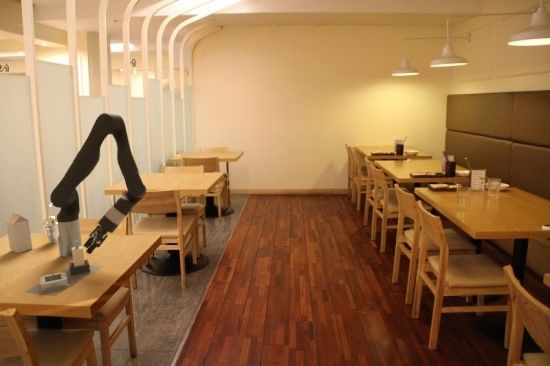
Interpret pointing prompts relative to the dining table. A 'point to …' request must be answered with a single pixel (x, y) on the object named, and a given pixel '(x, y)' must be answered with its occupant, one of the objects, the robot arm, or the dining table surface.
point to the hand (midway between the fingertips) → (86, 249)
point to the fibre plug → (78, 255)
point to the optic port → (53, 281)
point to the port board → (70, 281)
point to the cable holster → (79, 268)
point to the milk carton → (19, 233)
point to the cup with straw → (51, 227)
